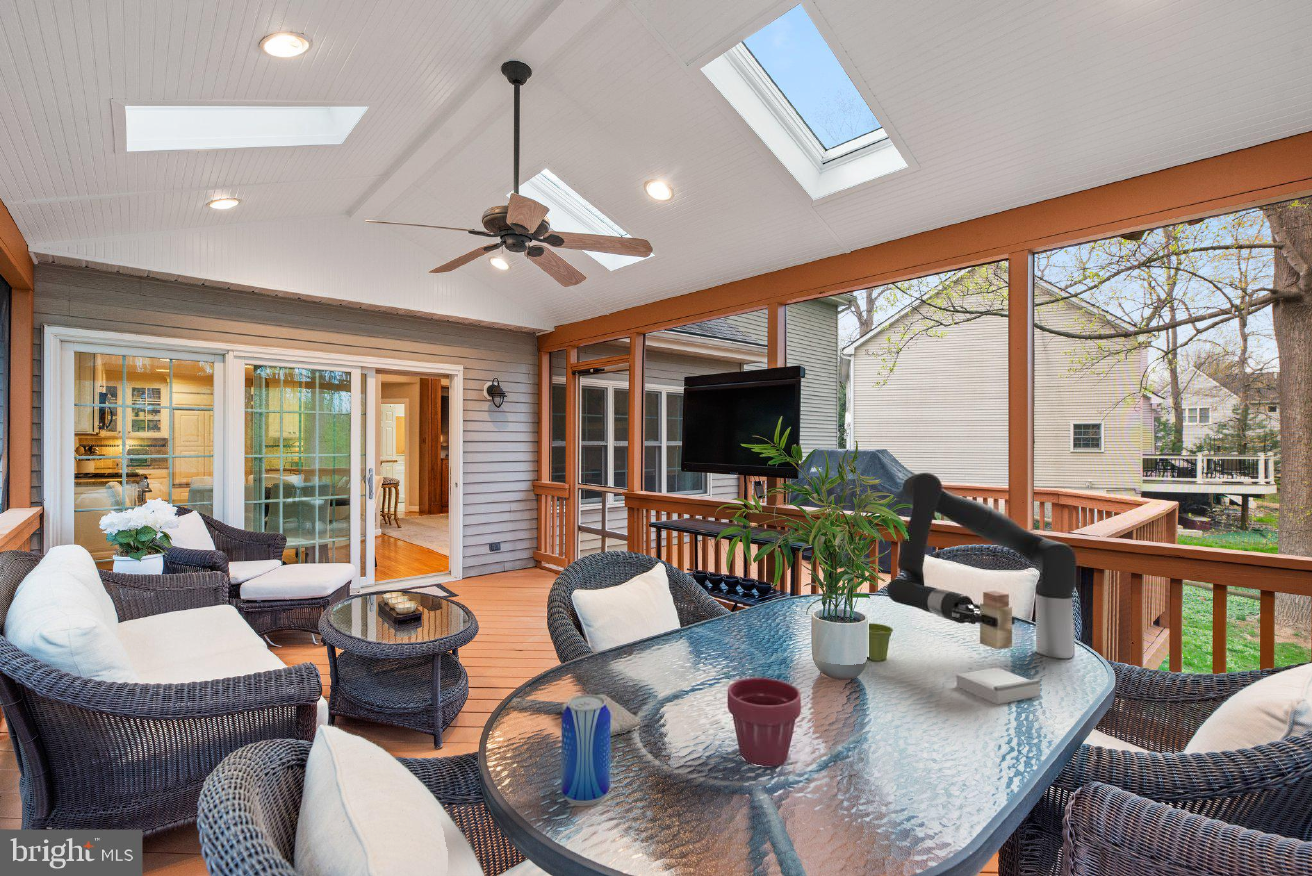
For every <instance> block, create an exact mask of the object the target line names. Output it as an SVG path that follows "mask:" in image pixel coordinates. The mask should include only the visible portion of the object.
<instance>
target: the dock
mask: <svg viewBox="0 0 1312 876" xmlns="http://www.w3.org/2000/svg"><path fill="white" fill-rule="evenodd" d="M955 681H956V687H957V686H958V687H957V688H959V687H960V689H961V688H962V690H964V689H965V690H964V691H966V690H968V691H969V692H968V691H967V692H968V693H971V692H972V693H971V694H973V695H975V694H976V696H978V697H980V696H981V697H980V698H982V697H983V698H982V699H984V700H987V699H988V700H987V701H990V702H991V701H992V703H993V704H996V705H1001V704H1005V703H1012V702H1016V701H1017V702H1018V701H1021V700H1026V699H1031V698H1036V697H1040V694H1041V693H1040V691H1041V690H1040V687H1041V686H1040V684H1041V683H1040V679H1037V678H1034V679H1028V678H1025V677H1022V676H1020V675H1017V674H1015V673H1012V672H1010V671H1007V670H1004V669H1002V668H999V667H993V668H987V669H982V670H981V669H980V670H976V671H975V670H974V671H969V672H963V673H958V674H956V680H955Z"/></svg>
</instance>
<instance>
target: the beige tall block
mask: <svg viewBox="0 0 1312 876" xmlns="http://www.w3.org/2000/svg"><path fill="white" fill-rule="evenodd" d="M982 593H983V594H982V601H983V602H982V603H979V604H980V613H982V614H983V615H988V616H992V617H995V618H997V619H998V627H992V626H989V625H986V624H979V644H980V645H984V646H987V647H989V648H992V649H995V650H997V651H998V650H1002V649H1003V650H1004V649H1010V648H1013V625H1012V616H1013V606H1010V594H1009V593H1005V592H1001V591H997V590H992V591H991V590H990V591H983V592H982Z"/></svg>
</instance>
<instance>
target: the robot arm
mask: <svg viewBox="0 0 1312 876" xmlns="http://www.w3.org/2000/svg"><path fill="white" fill-rule="evenodd" d="M902 492H903V495H904V497H905V498H906V499H907V500H908V501H910V502H911V503H912V510H911V514H910V518H909V522H908V525H907V527H906V529H905V531H906V532H907V533H908V536H909V541H908V539H906V541H905V540H904V539H903V538H902V540H901V544H900V547H899V548H900V549H899V553H898V559H897V567H898V569H899V570H900V571H902V572H904V573H905V578H906V579H905V578H904V579H903V578H895V579H892V580H891V581H890V582H889V583H888V585H887V587H886V593H887V595H888V597H889V598H890V600H891V601H893V602H895V603H897V604H901V605H904V606H908V607H914V608H917V609H920V610H922V611H924V612H927V613H930V614H933V615H936V616H937V617H939V618H940V617H941V619H946V620H948V621H952V622H955V623H957V624H967V623H968V624H971V625H976V624H979V625H980V624H986V625H989V626H992V627H998V619H997V618H995V617H992V616H988V615H983V614H982V613H980V604H981V603H974V602H973V600H972V599H971V597H970V596H969V595H966V594H962V593H958V592H955V591H951V590H948V589H941V588H937V587H934V586H928V585H925V575H924V569H923V568H924V564H925V563H924V562H925V557H926V551H927V545H928V539H929V536H930V535H929V534H930V531H931V527H932V523H933V520H934V516H935V513H937V514H940V515H941V516H944V517H945V518H947V519H948V520H950V521H952V522H953V523H955V524H957V525H959V526H960V527H962V528H964V529H966V530H968V531H969V532H972V533H973V534H974V535H977V536H978V537H980V538H983V539H985V540H987V541H989V542H991V543H994V544H996V545H999V546H1001V547H1004V548H1007V549H1009V550H1011V551H1014V552H1015V553H1017V554H1019V555H1020V556H1021V557H1023V558H1025V559H1026V560H1027V561H1029V562H1031V564H1033V565H1035V566H1036V567H1038V568H1039V569H1041V580H1040V582H1038V583H1036V584H1035V651H1036V653H1038V654H1040V655H1042V656H1045V657H1050V658H1056V659H1071V658H1073V656H1075V655H1076V653H1075V652H1076V651H1075V648H1076V646H1075V642H1076V641H1075V638H1076V635H1075V632H1076V631H1075V622H1074V621H1073V620H1074V619H1073V617H1074V616H1073V608H1074V607H1073V591H1074V590H1075V588H1076V581H1077V557H1076V552H1075V551H1074V549H1073V548H1072V547H1071V546H1070V545H1068V544H1066V543H1063V542H1061V541H1060V542H1059V541H1058V540H1057V541H1056V540H1054V539H1050V538H1046V537H1043V536H1041V535H1038V534H1035V533H1034V532H1032V531H1031V532H1030V531H1029V530H1026V529H1024V528H1023V527H1022V526H1020V525H1019V524H1018V523H1016V522H1015V521H1014V520H1013V519H1011V518H1010V517H1008V516H1007V515H1006V514H1004V513H1003V512H1001V511H999V510H997V509H995V508H993V507H991V506H989V505H987V504H985V503H983V502H979V501H977V500H973V499H970V498H967V497H963V496H959V495H956V494H953V493H951V492H949V491H947V490H945V489H944V488H943V484H942V481H941V479H940V478H939V477H938V476H937V475H935V474H934V473H932V472H920V473H917V474H914V475H910V476H909V477H907V478H906V479H905V480H904V482H903V484H902ZM1015 619H1016V618H1015V616H1014V615H1012V626H1014V625H1016V624H1015V622H1016V620H1015Z"/></svg>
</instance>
